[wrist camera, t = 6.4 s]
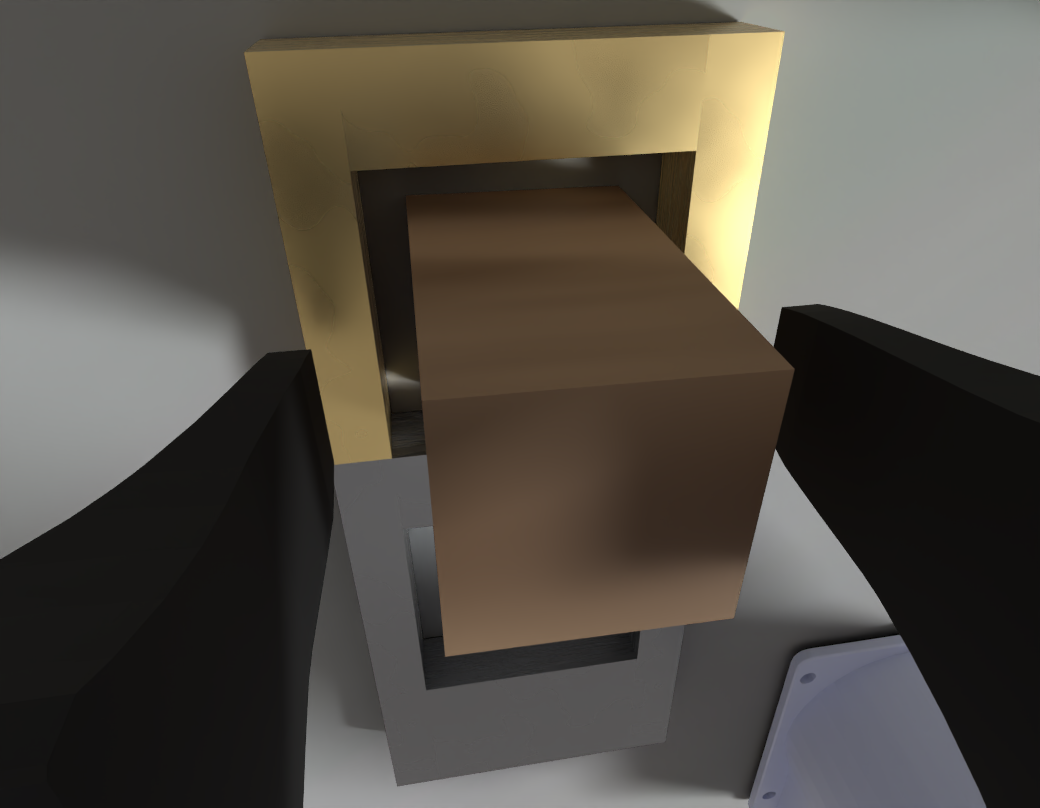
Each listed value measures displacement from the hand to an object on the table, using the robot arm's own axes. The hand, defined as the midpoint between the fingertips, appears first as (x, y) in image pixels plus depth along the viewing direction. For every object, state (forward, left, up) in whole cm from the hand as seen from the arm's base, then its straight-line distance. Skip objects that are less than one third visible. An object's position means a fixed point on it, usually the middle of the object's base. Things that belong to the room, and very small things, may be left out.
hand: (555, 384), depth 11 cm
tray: (-5, 0, -4) cm, 6 cm away
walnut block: (0, 0, -4) cm, 4 cm away
